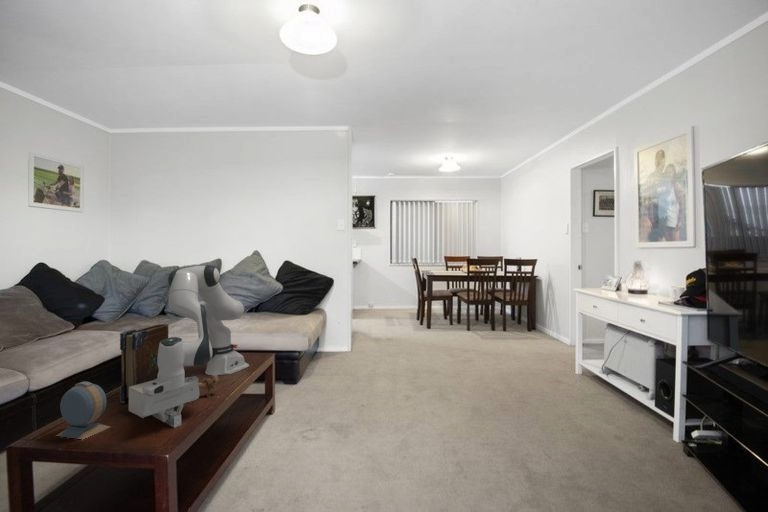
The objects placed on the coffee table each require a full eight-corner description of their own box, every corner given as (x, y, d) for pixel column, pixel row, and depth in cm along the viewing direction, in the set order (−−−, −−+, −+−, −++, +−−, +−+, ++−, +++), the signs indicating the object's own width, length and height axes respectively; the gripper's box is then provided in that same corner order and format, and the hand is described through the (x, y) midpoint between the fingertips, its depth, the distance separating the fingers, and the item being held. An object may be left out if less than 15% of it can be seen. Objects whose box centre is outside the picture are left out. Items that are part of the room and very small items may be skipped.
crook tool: (171, 408, 147) (171, 399, 147) (194, 419, 137) (194, 409, 137) (151, 415, 141) (151, 405, 141) (174, 427, 130) (174, 416, 130)
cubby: (174, 396, 160) (174, 374, 160) (189, 402, 153) (189, 379, 153) (128, 410, 145) (128, 386, 145) (142, 418, 138) (142, 393, 138)
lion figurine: (218, 392, 165) (218, 372, 165) (218, 396, 160) (218, 376, 160) (182, 397, 159) (182, 377, 159) (181, 401, 154) (181, 380, 154)
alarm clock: (112, 427, 131) (112, 379, 131) (85, 440, 121) (85, 388, 121) (82, 423, 134) (82, 376, 134) (53, 436, 124) (53, 385, 125)
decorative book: (136, 403, 152) (136, 333, 152) (120, 402, 153) (120, 333, 153) (171, 383, 176) (171, 323, 176) (157, 383, 176) (157, 322, 176)
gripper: (194, 372, 144) (194, 406, 144) (137, 388, 127) (137, 427, 127) (202, 375, 141) (202, 410, 141) (145, 392, 124) (145, 432, 124)
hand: (171, 418), depth 134 cm, fingers open, 3 cm apart
